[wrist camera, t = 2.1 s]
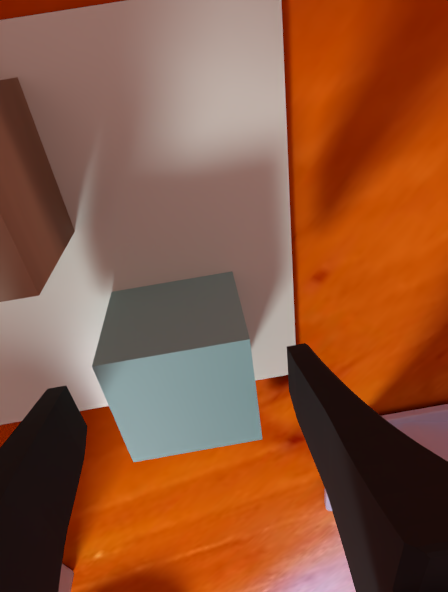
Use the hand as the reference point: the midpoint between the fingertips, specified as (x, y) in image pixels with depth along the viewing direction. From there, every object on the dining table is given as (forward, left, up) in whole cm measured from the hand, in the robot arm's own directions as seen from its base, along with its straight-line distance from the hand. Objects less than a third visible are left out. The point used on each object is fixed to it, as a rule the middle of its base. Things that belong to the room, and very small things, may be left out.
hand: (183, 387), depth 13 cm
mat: (+2, -3, -4) cm, 6 cm away
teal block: (0, 0, -3) cm, 3 cm away
